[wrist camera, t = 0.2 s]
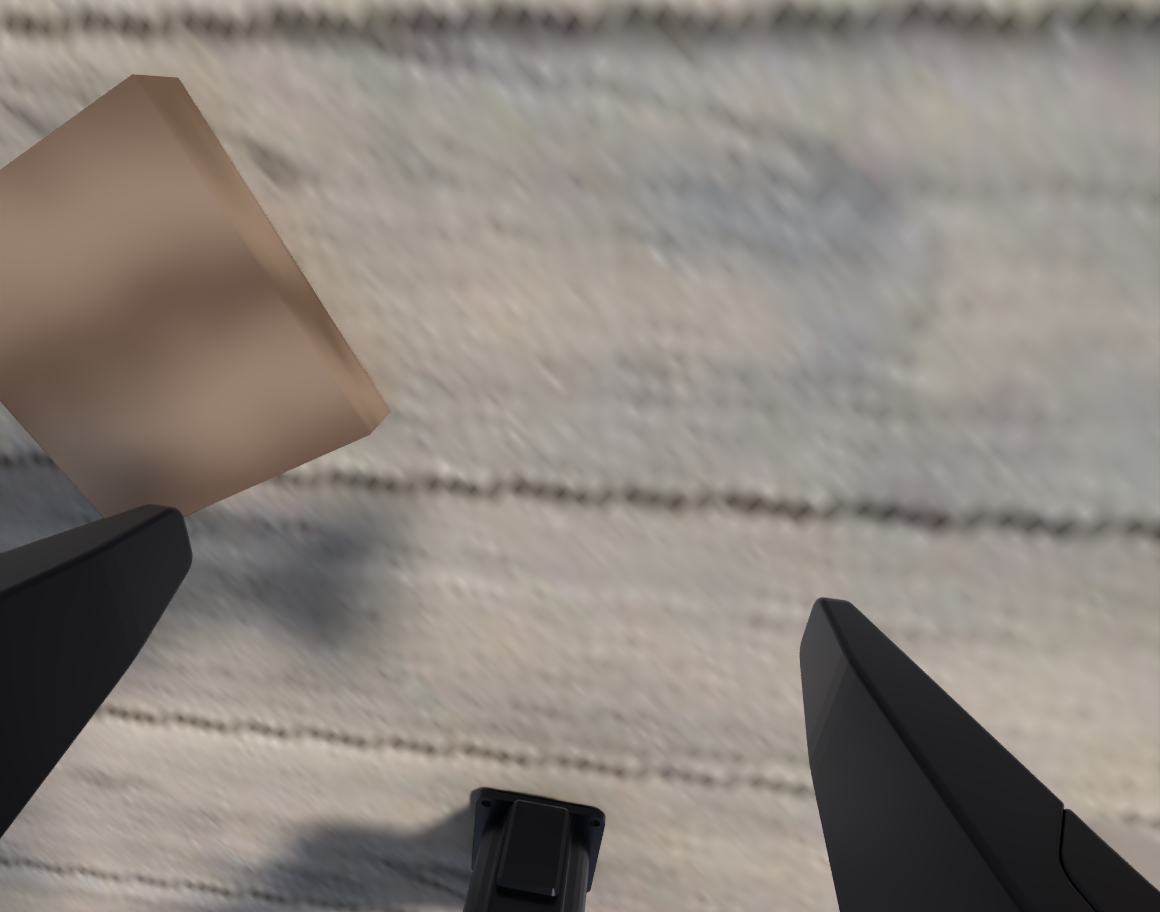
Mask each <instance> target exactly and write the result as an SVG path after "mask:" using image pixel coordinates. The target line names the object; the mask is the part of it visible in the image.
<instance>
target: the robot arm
mask: <svg viewBox="0 0 1160 912" xmlns="http://www.w3.org/2000/svg"><path fill="white" fill-rule="evenodd" d="M191 563H192V549H191V545H190V541H189V537H188V533H187V528H186V524H185V520H184V516H183V514H182V512H181V511H180V510H179V509H178V508H176V507H172V506H165V505H158V504H146V505H142V506H139V507H136V508H133V509H130V510H127V511H124V512H121V513H119V514H116V515H113V516H110V517H107V518H104V519H101V520H98V521H95V522H92V523H89V524H86V525H83V526H80V527H77V528H74V529H71V530H68V531H65V532H62V533H60V534H57V535H54V536H51V537H48V538H45V539H42V540H39V541H36V542H33V543H30V544H27V545H24V546H21V547H18V548H15V549H12V550H9V551H6V552H3V553H1V554H0V839H1V837H2V836H3V835H4V833H5V832H6V831H7V829H8V828H9V827H10V825H11V824H12V823H13V821H14V820H15V819H16V817H17V816H18V815H19V813H20V812H21V811H22V809H23V808H24V807H25V805H26V804H27V803H28V801H29V800H30V799H31V797H32V796H33V795H34V793H35V792H36V791H37V789H38V788H39V787H40V785H41V784H42V783H43V781H44V780H45V779H46V777H47V776H48V775H49V773H50V772H51V771H52V769H53V768H54V767H55V765H56V764H57V763H58V761H59V760H60V759H61V757H62V756H63V755H64V753H65V752H66V751H67V749H68V748H69V747H70V745H71V744H72V743H73V741H74V740H75V739H76V737H77V736H78V735H79V733H80V732H81V731H82V729H83V728H84V727H85V726H86V724H87V723H88V722H89V720H90V719H91V718H92V716H93V715H94V714H95V712H96V711H97V710H98V708H99V707H100V706H101V704H102V703H103V702H104V700H105V699H106V698H107V696H108V695H109V694H110V692H111V691H112V690H113V688H114V687H115V686H116V684H117V683H118V682H119V680H120V679H121V678H122V676H123V675H124V674H125V672H126V671H127V669H128V668H129V667H130V665H131V664H132V662H133V661H134V659H135V658H136V656H137V655H138V653H139V652H140V650H141V649H142V647H143V646H144V644H145V642H146V641H147V639H148V637H149V636H150V634H151V632H152V631H153V629H154V627H155V626H156V624H157V622H158V621H159V619H160V618H161V616H162V614H163V613H164V611H165V609H166V608H167V606H168V604H169V603H170V601H171V599H172V598H173V596H174V594H175V593H176V591H177V590H178V588H179V586H180V585H181V583H182V581H183V580H184V578H185V576H186V575H187V573H188V571H189V569H190V566H191ZM800 668H801V679H802V691H803V702H804V713H805V724H806V735H807V746H808V755H809V764H810V769H811V775H812V780H813V785H814V790H815V795H816V800H817V804H818V809H819V814H820V819H821V824H822V828H823V833H824V838H825V843H826V848H827V852H828V857H829V862H830V867H831V871H832V876H833V881H834V886H835V891H836V895H837V900H838V905H839V910H840V912H1160V891H1159V890H1158V889H1156V888H1155V887H1154V886H1153V885H1152V884H1151V883H1149V882H1148V881H1147V880H1146V879H1145V878H1144V877H1143V876H1142V875H1141V874H1140V873H1138V872H1137V871H1136V870H1135V869H1134V868H1133V867H1132V866H1131V865H1129V863H1128V862H1126V861H1125V860H1124V859H1123V858H1122V857H1121V856H1120V855H1119V854H1118V853H1117V852H1115V851H1114V850H1113V849H1112V848H1111V847H1110V846H1109V845H1108V844H1107V843H1106V842H1105V841H1103V840H1102V839H1101V838H1100V837H1099V836H1098V835H1097V834H1096V833H1095V832H1094V831H1093V830H1092V829H1091V828H1090V827H1089V826H1087V825H1086V824H1085V823H1084V822H1083V821H1082V820H1081V819H1080V818H1079V817H1078V816H1077V815H1076V814H1075V813H1074V812H1073V811H1072V810H1070V809H1064V804H1063V802H1062V801H1061V800H1060V799H1059V798H1057V797H1056V796H1055V795H1054V794H1053V793H1052V792H1051V791H1050V790H1049V789H1048V788H1047V787H1046V786H1045V785H1044V784H1043V783H1042V782H1040V781H1039V780H1038V779H1037V778H1036V777H1035V776H1034V775H1033V774H1032V773H1031V772H1030V771H1029V770H1028V769H1027V768H1026V767H1025V766H1024V765H1022V764H1021V763H1020V762H1019V761H1018V760H1017V759H1016V758H1015V757H1014V756H1013V755H1012V754H1011V753H1010V752H1009V751H1008V750H1007V749H1006V748H1004V747H1003V746H1002V745H1001V744H1000V743H999V742H998V741H997V740H996V739H995V738H994V737H993V736H992V735H991V734H990V733H989V732H987V731H986V730H985V729H984V728H983V727H982V726H981V725H980V724H979V723H978V722H977V721H976V720H975V719H974V718H973V717H972V716H971V715H969V714H968V713H967V712H966V711H965V710H964V709H963V708H962V707H961V706H960V705H959V704H958V703H957V702H956V701H955V700H954V699H952V698H951V697H950V696H949V695H948V694H947V693H946V692H945V691H944V690H943V689H942V688H941V687H940V686H939V685H938V684H937V683H936V682H934V681H933V680H932V679H931V678H930V677H929V676H928V675H927V674H926V673H925V672H924V671H923V670H922V669H921V668H920V667H919V666H918V665H916V664H915V663H914V662H913V661H912V660H911V659H910V658H909V657H908V656H907V655H906V654H905V653H904V652H903V651H902V650H901V649H899V648H898V647H897V646H896V645H895V644H894V643H893V642H892V641H891V640H890V639H889V638H888V637H887V636H886V635H885V634H884V633H883V632H881V631H880V630H879V629H878V628H877V627H876V626H875V625H874V624H873V623H872V622H871V621H870V620H869V619H868V618H867V617H866V616H864V615H863V614H862V613H861V612H860V611H859V610H858V609H857V608H856V607H855V606H854V605H853V604H851V603H850V602H848V601H845V600H839V599H832V598H824V597H821V598H819V599H817V600H816V602H815V603H814V605H813V608H812V611H811V614H810V617H809V620H808V623H807V626H806V629H805V632H804V635H803V638H802V641H801V645H800ZM604 827H605V814H604V813H603V812H602V811H600V810H596V809H591V808H585V807H579V806H574V805H568V804H563V803H557V802H552V801H546V800H541V799H535V798H530V797H524V796H519V795H513V794H508V793H502V792H496V791H491V790H483V791H481V792H479V795H478V799H477V804H476V816H475V829H474V841H473V854H472V870H473V873H472V877H471V881H470V885H469V889H468V893H467V897H466V901H465V905H464V909H463V912H585V902H586V893H587V892H589V891H590V889H591V885H592V881H593V876H594V872H595V867H596V863H597V858H598V854H599V849H600V845H601V840H602V836H603V831H604Z"/></svg>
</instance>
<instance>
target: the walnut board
mask: <svg viewBox="0 0 1160 912" xmlns="http://www.w3.org/2000/svg"><path fill="white" fill-rule="evenodd" d="M0 401H1V403H2V404H3V405H4V406H5V407H6V408H7V409H8V410H9V412H10V413H11V414H12V415H13V416H14V417H15V418H16V420H17V421H18V422H19V423H20V424H21V425H22V426H23V427H24V429H25V430H26V431H27V432H28V433H29V434H30V435H31V437H32V438H33V439H34V440H35V441H36V442H37V443H38V444H39V446H40V447H41V448H42V449H43V450H44V451H45V452H46V454H47V455H48V456H49V457H50V458H51V459H52V460H53V461H54V463H55V464H56V465H57V466H58V467H59V468H60V469H61V471H62V472H63V473H64V474H65V475H66V476H67V477H68V478H69V480H70V481H71V482H72V483H73V484H74V485H75V486H76V488H77V489H78V490H79V491H80V492H81V493H82V494H83V495H84V497H85V498H86V499H87V500H88V501H89V502H90V503H91V505H92V506H93V507H94V508H95V509H96V510H97V511H98V512H99V514H100V515H101V516H102V517H103V518H107V517H110V516H113V515H116V514H119V513H121V512H124V511H127V510H130V509H133V508H136V507H139V506H142V505H146V504H158V505H165V506H172V507H176V508H178V509H179V510H180V511H181V512H182V514H183V516H187V515H189V514H191V513H193V512H196V511H198V510H200V509H202V508H205V507H207V506H209V505H211V504H214V503H216V502H218V501H221V500H223V499H225V498H227V497H230V496H232V495H234V494H236V493H239V492H241V491H243V490H245V489H248V488H250V487H252V486H254V485H257V484H259V483H261V482H264V481H266V480H268V479H270V478H273V477H275V476H277V475H279V474H282V473H284V472H286V471H288V470H291V469H293V468H295V467H298V466H300V465H302V464H304V463H307V462H309V461H311V460H313V459H316V458H318V457H320V456H322V455H325V454H327V453H329V452H332V451H334V450H336V449H338V448H341V447H343V446H345V445H347V444H350V443H352V442H354V441H356V440H359V439H361V438H363V437H366V436H368V435H370V434H371V433H372V432H373V431H374V429H375V428H376V427H377V426H378V425H379V424H380V423H381V422H382V421H383V420H384V418H385V417H386V416H387V415H388V414H389V413H390V412H391V411H390V410H389V408H388V407H387V405H386V404H385V402H384V400H383V399H382V397H381V396H380V394H379V393H378V391H377V389H376V388H375V386H374V385H373V383H372V382H371V380H370V378H369V377H368V375H367V374H366V372H365V371H364V369H363V367H362V366H361V364H360V363H359V361H358V360H357V358H356V356H355V355H354V353H353V352H352V350H351V349H350V347H349V345H348V344H347V342H346V341H345V339H344V338H343V336H342V334H341V333H340V331H339V330H338V328H337V327H336V325H335V323H334V322H333V320H332V319H331V317H330V316H329V314H328V312H327V311H326V309H325V308H324V306H323V305H322V303H321V301H320V300H319V298H318V297H317V295H316V294H315V292H314V290H313V289H312V287H311V286H310V284H309V283H308V281H307V279H306V278H305V276H304V275H303V273H302V272H301V270H300V268H299V267H298V265H297V264H296V262H295V261H294V259H293V257H292V256H291V254H290V253H289V251H288V250H287V248H286V246H285V245H284V243H283V242H282V240H281V239H280V237H279V235H278V234H277V232H276V231H275V229H274V228H273V226H272V224H271V223H270V221H269V220H268V218H267V217H266V215H265V213H264V212H263V210H262V209H261V207H260V206H259V204H258V202H257V201H256V199H255V198H254V196H253V195H252V193H251V191H250V190H249V188H248V187H247V185H246V184H245V182H244V180H243V179H242V177H241V176H240V174H239V173H238V171H237V169H236V168H235V166H234V165H233V163H232V162H231V160H230V158H229V157H228V155H227V154H226V152H225V151H224V149H223V147H222V146H221V144H220V143H219V141H218V140H217V138H216V136H215V135H214V133H213V132H212V130H211V129H210V127H209V125H208V124H207V122H206V121H205V119H204V118H203V116H202V114H201V113H200V111H199V110H198V108H197V107H196V105H195V103H194V102H193V100H192V99H191V97H190V95H189V94H188V92H187V91H186V89H185V88H184V86H183V84H182V83H181V81H180V80H179V78H173V77H160V76H146V75H133V74H132V75H131V76H130V77H128V78H127V79H125V80H124V81H123V82H121V83H120V84H118V85H117V86H116V87H114V88H113V89H112V90H110V91H109V92H107V93H106V94H105V95H103V96H102V97H100V98H99V99H98V100H96V101H95V102H94V103H92V104H91V105H89V106H88V107H87V108H85V109H84V110H82V111H81V112H80V113H78V114H77V115H76V116H74V117H73V118H71V119H70V120H69V121H67V122H66V123H64V124H63V125H62V126H60V127H59V128H57V129H56V130H55V131H53V132H52V133H51V134H49V135H48V136H46V137H45V138H44V139H42V140H41V141H39V142H38V143H37V144H35V145H34V146H33V147H31V148H30V149H28V150H27V151H26V152H24V153H23V154H21V155H20V156H19V157H17V158H16V159H15V160H13V161H12V162H10V163H9V164H8V165H6V166H5V167H3V168H2V169H1V170H0Z"/></svg>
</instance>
